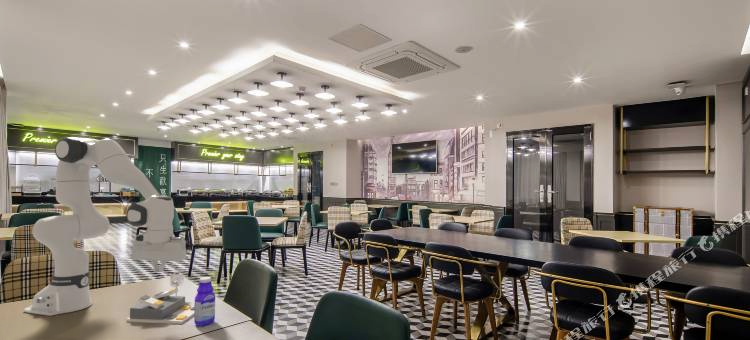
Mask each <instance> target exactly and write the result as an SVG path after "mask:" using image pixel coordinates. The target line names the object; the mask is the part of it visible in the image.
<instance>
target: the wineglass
mask: <svg viewBox="0 0 750 340" xmlns="http://www.w3.org/2000/svg"><path fill="white" fill-rule="evenodd" d="M168 280H169V286H171V287H172V288H177V289H178V288H179V287H181V286H183V283H184V280H185V277H184V272H183V271H173V272H171V273H170V275H169V279H168ZM177 294H178V292H176V293H175V296H178V295H177Z"/></svg>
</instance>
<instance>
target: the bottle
mask: <svg viewBox="0 0 750 340" xmlns="http://www.w3.org/2000/svg"><path fill="white" fill-rule="evenodd" d="M198 283H199V284H198V287H197V288H196V291H197V293H196V295H195V297H194V306H195V312H194V316H193V317H194V320H193V321H194V324H195V325H196V326H198V327H204V326H206V325H209V324H212V323H214V321H215V318H216V294H215V293H214V287H213V285H212V277H211V276H202V277H200V278H199V282H198Z"/></svg>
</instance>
